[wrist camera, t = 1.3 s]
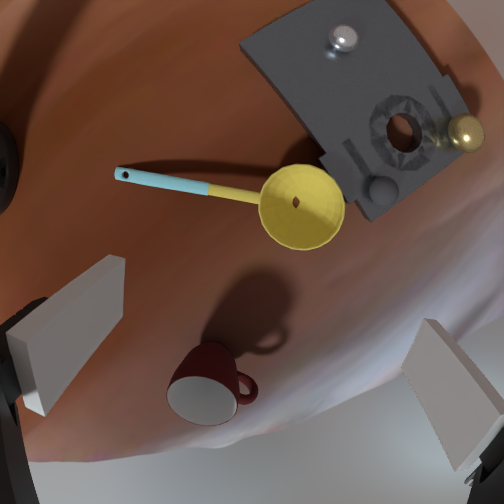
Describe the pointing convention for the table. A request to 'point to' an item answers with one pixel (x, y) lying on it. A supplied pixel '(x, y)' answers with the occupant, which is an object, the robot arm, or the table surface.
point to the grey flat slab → (360, 94)
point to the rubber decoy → (384, 191)
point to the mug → (208, 386)
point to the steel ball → (343, 38)
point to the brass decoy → (466, 132)
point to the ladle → (274, 201)
